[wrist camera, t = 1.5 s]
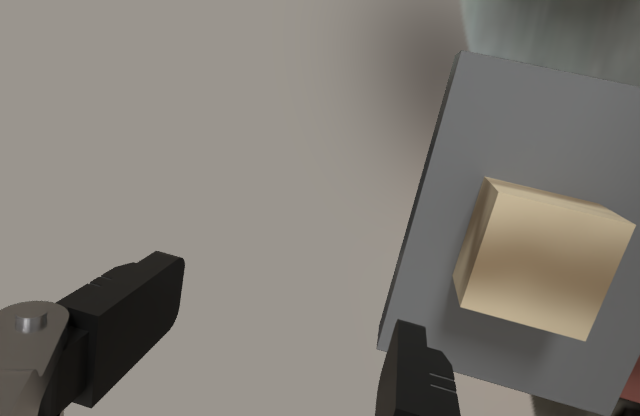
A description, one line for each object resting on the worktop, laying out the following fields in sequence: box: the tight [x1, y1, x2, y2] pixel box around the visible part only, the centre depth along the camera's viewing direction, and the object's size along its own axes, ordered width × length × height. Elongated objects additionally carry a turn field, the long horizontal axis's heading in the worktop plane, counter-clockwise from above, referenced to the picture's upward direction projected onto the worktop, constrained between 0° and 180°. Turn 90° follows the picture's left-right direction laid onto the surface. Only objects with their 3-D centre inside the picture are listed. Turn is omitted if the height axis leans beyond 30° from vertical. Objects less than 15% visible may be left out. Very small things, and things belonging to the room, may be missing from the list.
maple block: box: [452, 176, 636, 341], centre depth 23 cm, size 6×6×4 cm
